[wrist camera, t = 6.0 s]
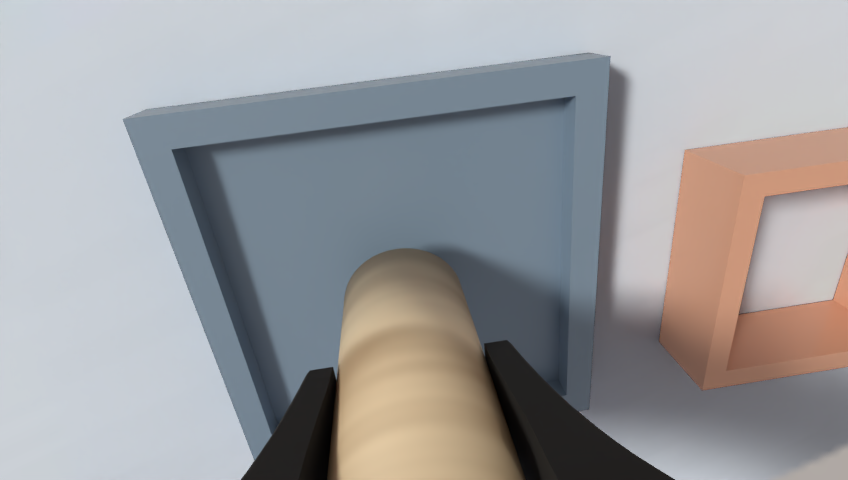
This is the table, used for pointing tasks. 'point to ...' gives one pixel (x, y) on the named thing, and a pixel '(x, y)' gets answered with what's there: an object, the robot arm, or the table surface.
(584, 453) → the robot arm
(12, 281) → the table surface
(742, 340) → the hollow square frame
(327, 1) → the table surface
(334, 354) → the slate tray
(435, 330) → the maple peg
